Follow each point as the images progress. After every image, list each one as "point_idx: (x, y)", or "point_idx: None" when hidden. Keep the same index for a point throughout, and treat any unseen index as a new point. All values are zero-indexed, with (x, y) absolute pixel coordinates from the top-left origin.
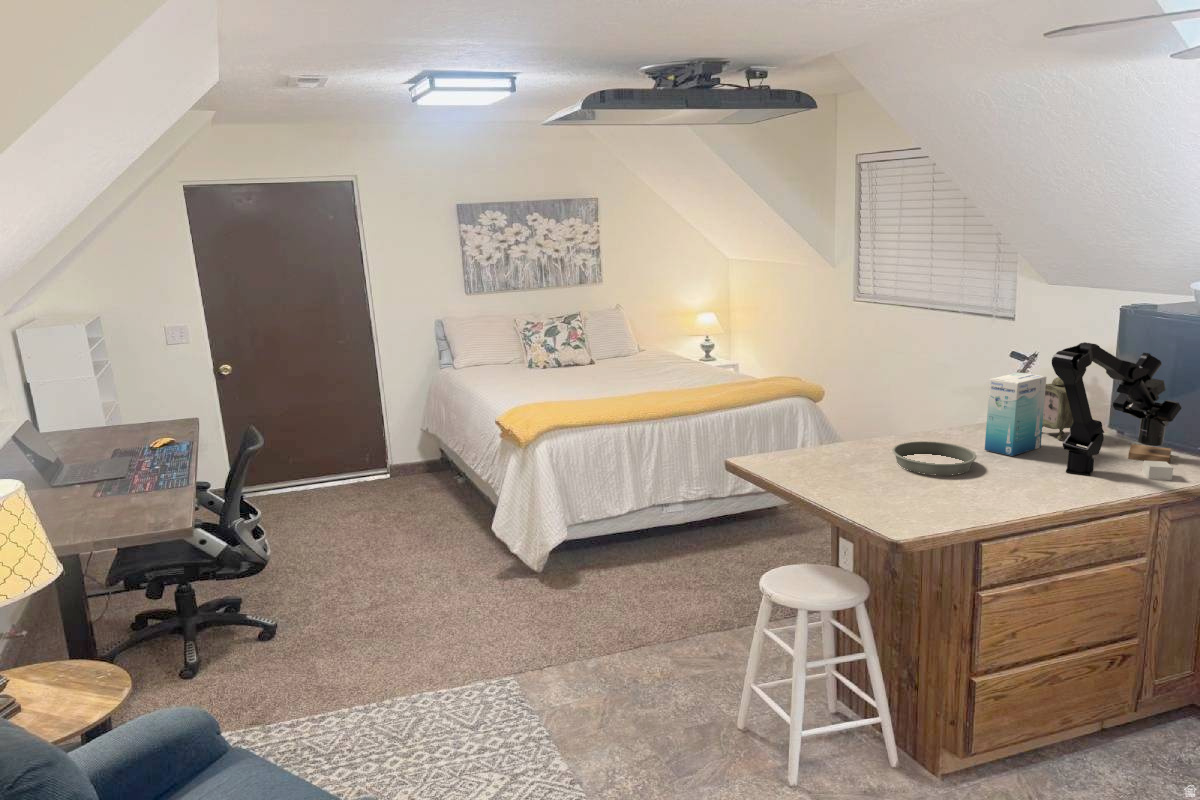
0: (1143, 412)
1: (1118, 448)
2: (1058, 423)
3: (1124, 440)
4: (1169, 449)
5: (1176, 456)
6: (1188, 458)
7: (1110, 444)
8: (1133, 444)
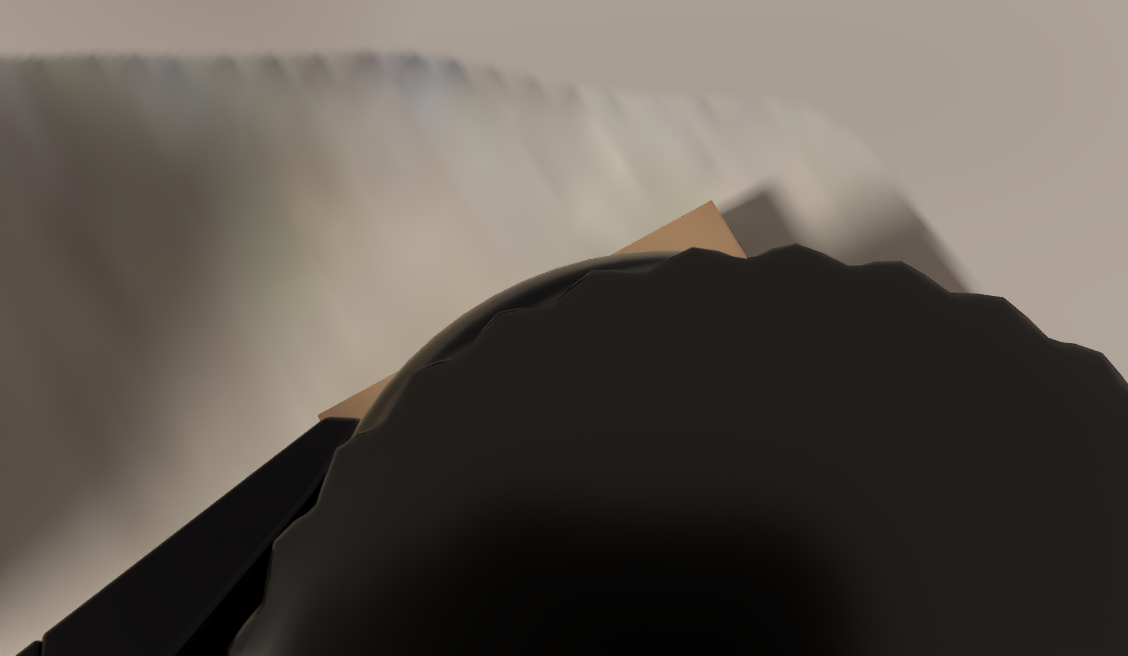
0: (234, 607)
1: (227, 465)
2: None
3: (101, 105)
4: (718, 247)
5: (768, 226)
6: (881, 192)
7: (86, 383)
8: (342, 403)
